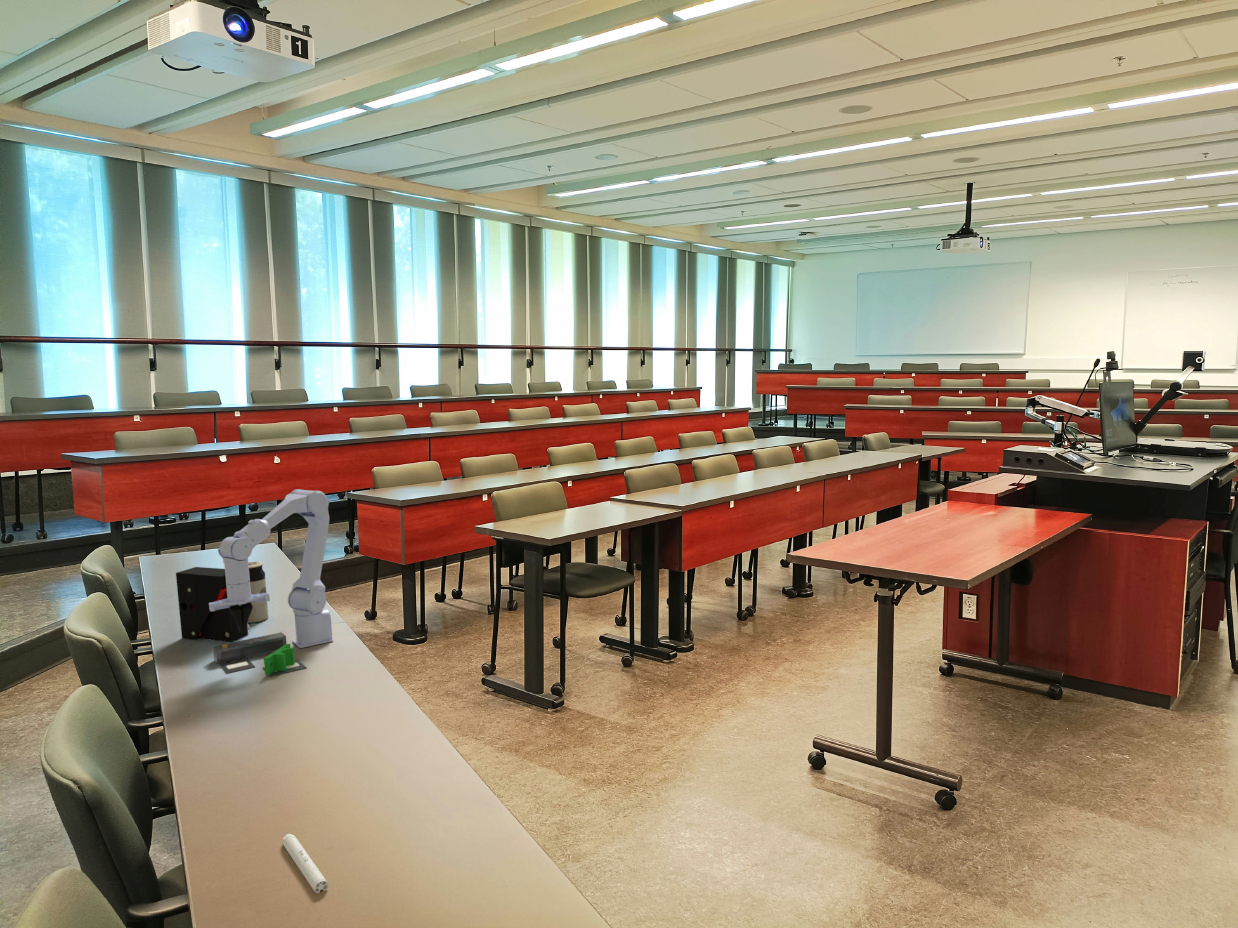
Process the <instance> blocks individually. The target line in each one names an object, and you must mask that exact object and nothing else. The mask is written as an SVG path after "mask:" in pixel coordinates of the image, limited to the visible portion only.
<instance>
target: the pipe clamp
mask: <svg viewBox="0 0 1238 928" xmlns="http://www.w3.org/2000/svg"><path fill="white" fill-rule="evenodd" d="M295 660H296V659H295V649H294V647H291V643H287V644H285V645H284V646H282V647H281V648H279V649H277V650H276V651H274V652H273V653H270V654H267V656H265V657H264V658H263V664H264V665H263V667H265V670H264V675H265V676H270V674H272V673H273V672H275V671H286V666H288V665H294V664H295Z"/></svg>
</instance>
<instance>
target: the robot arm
mask: <svg viewBox="0 0 1238 928" xmlns="http://www.w3.org/2000/svg"><path fill="white" fill-rule="evenodd" d="M329 505H330V499H329V498H328V497H327V495H326V494H325V493H324V492H323V491H322V490H321V491H320V490H308V489H307V490H305V489H299V488H298V489H297V488H296V489H294V490H292V491H291V493H288V494H286V495H285V498H284V499H283V500H282V501H281V502H280V503H278V505H277V506H275V507H274V508H273V509H272V510H271V511H270V512H269V513H267V515H265V516H264V517H263V518H262V519H260V518H255V519H250V520H249V521H248V522H247V523H248V524H247V525H245V526H244V527H243V528H241V529H240V530H238V531H236V532H234V534H233V536H228V537H225V538H224V539H223V540H222V541H221V543H220V545H219V547H218V549H217V552H218V555H219V556H220V557H221V558H222V561H223V564H224V569H225V577H226V587H227V599H223V600H220V601H216V602H211V603H209V610H210V611H211V612H212V611H215V610H219V609H224V608H228V609H229V610H230V612H231V613H232V615H233V617H234V619H235V621H236V623H237V626H238V629H239V632H240V633H245V632H246V627H247V622H248V619H249V616H250V613H251V611H252V608H253V606H252V603H257V602H263V601H267V602H270V600H271V599H270V594H269V592H267V593H261V594H251V588H250V577H249V566H248V562H249V557H250V556H251V555H252V552H253V550H254V549H255V547H257V545H259V544H260V543H262V542H263V541H264V540H265V539H267V538H268V537H269V536H270V535H271V530H272V528H274V527H276V526H277V525H278V524H279V523H281V522H282V521H284V520H285V519H287V518H288V517H290V516H292V515H293V514H298V515H300V516H301V517H302V518H304V520H305V521H306V522H307V523H308V524H307V525H308V526H307V532H306V538H305V544H304V550H303V556H302V560H301V561H302V563H301V567H300V574H299V578H298V579H297V580H296V581H295V582H293V583H292V588H291V591H290V592H289V594H288V597H287V604H288V606H289V607H290V608H291V609H292V613H294V624H295V625H294V626H295V637H296V638H294V639H292V641H291V642H292V643H293V644H294V645H296V646H297V647H298V648H299V649H303V648H308V647H312V646H317V645H321V644H326V643H327V644H328V643H330V642H333V641H334V638H333V629H332V628H333V626H332V618H331V614H330V611H329V609H327V608H325V607H326V604H327V598H326V586H325V584H324V583H323V582H322V580H321V575H322V570H323V562H324V558H325V557H324V556H325V552H326V551H325V550H326V544H327V538H328V532H329V526H330V525H329V524H330V514H329V513H330V512H329Z"/></svg>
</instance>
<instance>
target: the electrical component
mask: <svg viewBox="0 0 1238 928" xmlns="http://www.w3.org/2000/svg"><path fill="white" fill-rule="evenodd" d="M175 577H176V579H175V580H176V589H177V599H178V610H179V623H180V630H181V631H180V632H181V640H182V639H183V640H206V641H217V642H218V641H219V642H226V643H232V642H237V641H239V640H240V639H243V638H245V637H248V635H249V630H250V628H251V627H250V625H249V623H247V627H246V632H245V633H240V632H239V629H238V626H237V623H236V621H235V619H234V617H233V615H232V613H231V612H230V610H229V609H228V608H224V609H219V610H215V611H212V612H211V611H210V610H209V603H211V602H216V601H220V600H223V599H227V587H226V577H225V568H218V567H217V568H216V567H203V566H195V567H191V568H188V569H187V568H186V569H185V570H181V571H177V572H175Z"/></svg>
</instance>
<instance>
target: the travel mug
mask: <svg viewBox="0 0 1238 928" xmlns="http://www.w3.org/2000/svg"><path fill="white" fill-rule="evenodd" d="M248 566H249V577H250V588H251V594H261V593H268V592H267V582H266V572H265V570H263V566H264V562H262V561H248ZM252 606H253V608H252V611H251V613H250V616H249V619H248V622H247V623H248V624H253V623H254V624H255V623H261V622H263V621H266V620H267V619H268V618H269V604H268V601H263V602H257V603H252Z"/></svg>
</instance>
